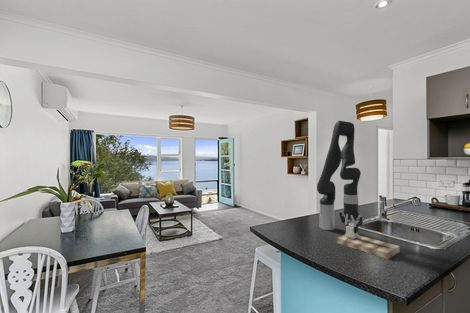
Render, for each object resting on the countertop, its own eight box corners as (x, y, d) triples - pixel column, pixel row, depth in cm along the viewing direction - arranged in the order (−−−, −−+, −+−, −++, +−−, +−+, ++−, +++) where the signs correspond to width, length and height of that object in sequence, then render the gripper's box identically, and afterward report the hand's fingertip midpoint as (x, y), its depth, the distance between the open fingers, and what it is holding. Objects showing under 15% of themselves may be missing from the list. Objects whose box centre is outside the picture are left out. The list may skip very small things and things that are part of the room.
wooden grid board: (336, 242, 128) (336, 237, 128) (349, 237, 136) (349, 232, 136) (387, 259, 106) (387, 252, 106) (399, 251, 114) (399, 245, 114)
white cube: (344, 236, 128) (344, 226, 128) (350, 234, 131) (349, 224, 131) (353, 239, 124) (353, 228, 124) (358, 236, 127) (358, 226, 127)
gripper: (335, 201, 132) (336, 230, 131) (360, 205, 120) (361, 236, 120) (342, 199, 136) (343, 227, 136) (367, 203, 124) (367, 234, 124)
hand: (351, 231), depth 128 cm, fingers closed on white cube, 4 cm apart
